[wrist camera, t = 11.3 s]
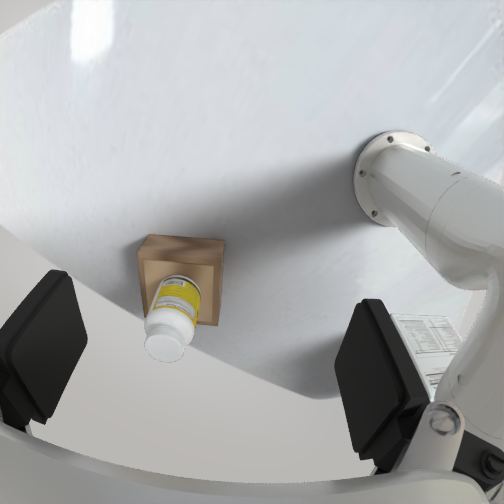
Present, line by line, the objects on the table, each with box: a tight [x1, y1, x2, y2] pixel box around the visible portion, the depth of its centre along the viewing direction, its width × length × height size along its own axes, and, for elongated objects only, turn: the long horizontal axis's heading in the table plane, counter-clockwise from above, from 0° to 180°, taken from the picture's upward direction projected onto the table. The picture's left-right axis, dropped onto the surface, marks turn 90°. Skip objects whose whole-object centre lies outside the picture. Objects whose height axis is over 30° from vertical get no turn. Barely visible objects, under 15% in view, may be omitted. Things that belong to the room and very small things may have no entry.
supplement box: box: [390, 314, 463, 402], centre depth 41 cm, size 13×13×18 cm
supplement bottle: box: [145, 275, 201, 363], centre depth 33 cm, size 5×5×10 cm
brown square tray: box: [137, 234, 224, 326], centre depth 39 cm, size 10×10×5 cm
